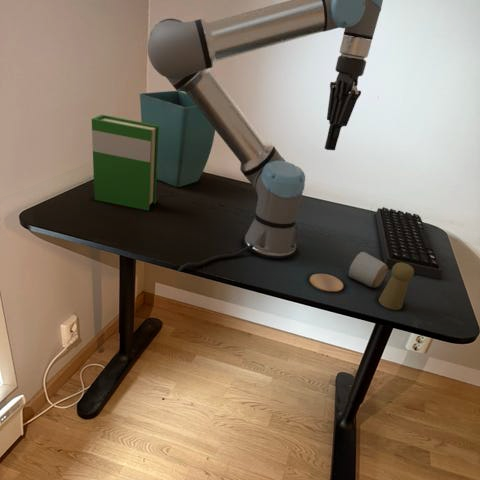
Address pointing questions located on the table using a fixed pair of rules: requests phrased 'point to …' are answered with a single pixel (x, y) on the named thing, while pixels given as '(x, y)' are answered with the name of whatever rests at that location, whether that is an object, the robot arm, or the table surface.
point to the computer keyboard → (406, 242)
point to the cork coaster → (326, 282)
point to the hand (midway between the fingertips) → (329, 149)
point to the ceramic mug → (368, 270)
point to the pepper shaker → (396, 286)
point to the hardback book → (125, 161)
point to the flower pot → (178, 136)
